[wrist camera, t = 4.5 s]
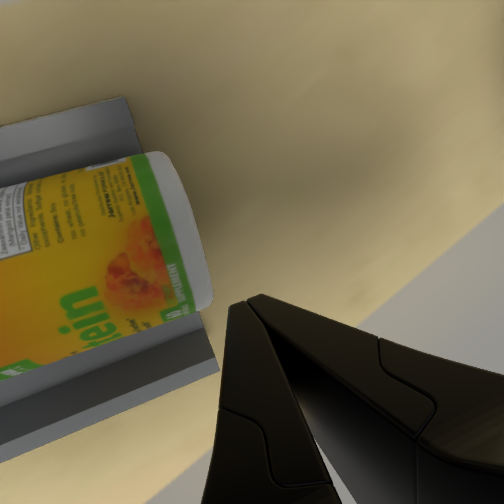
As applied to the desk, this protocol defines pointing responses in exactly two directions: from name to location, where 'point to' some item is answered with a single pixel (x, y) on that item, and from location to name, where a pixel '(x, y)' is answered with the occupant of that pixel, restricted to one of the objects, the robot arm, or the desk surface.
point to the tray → (108, 355)
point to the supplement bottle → (95, 259)
